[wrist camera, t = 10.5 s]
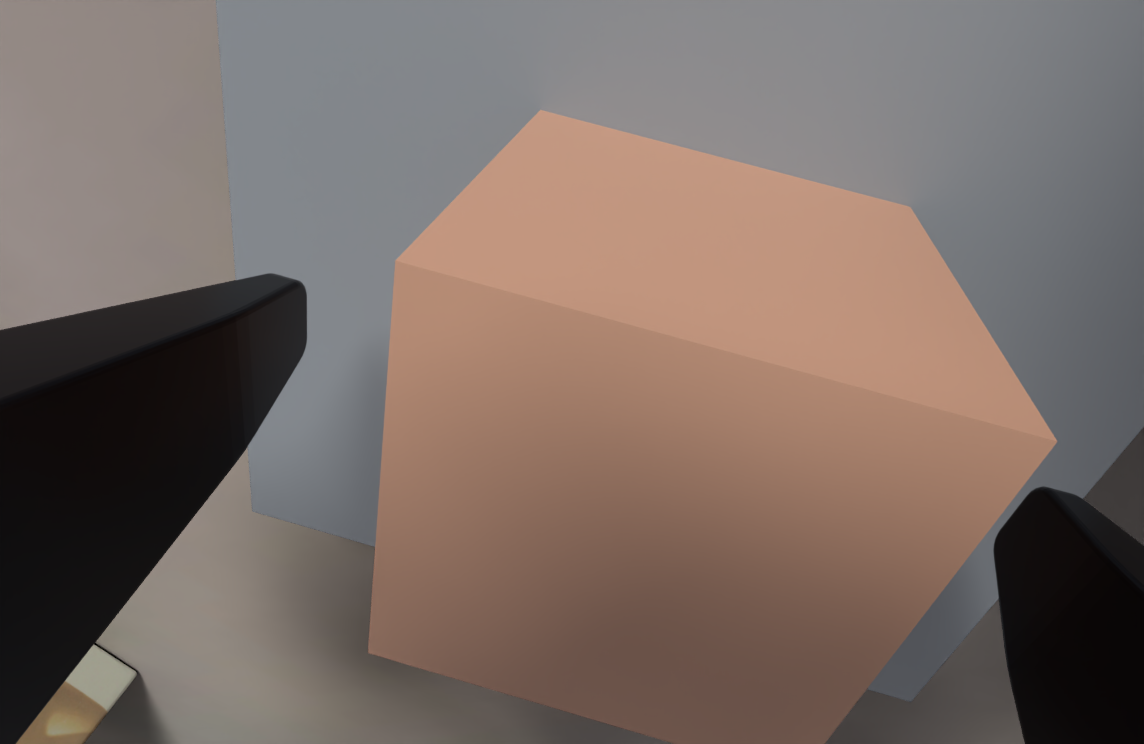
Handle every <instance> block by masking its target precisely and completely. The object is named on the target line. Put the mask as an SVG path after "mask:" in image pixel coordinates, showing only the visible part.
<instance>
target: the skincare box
mask: <svg viewBox="0 0 1144 744" xmlns="http://www.w3.org/2000/svg"><path fill="white" fill-rule="evenodd" d="M136 675H137V673H136V671H134V670H133V669H131V668H130V667H128V666H127V665H125V664H124V663H122V662H120V661H119V660H117V659H116V658H114V657H113V656H111V655H110V654H108V653H107V652H105V651H104V650H102V649H100V648H99V647H97V646H96V645H93V646H92V647H91V649H90V650H89V651H88V652H87V654H86V655H85V656H84V657H83V659H82V660H81V661H80V663H79V664H78V665H77V666H76V668H75V669H74V670H73V672H72V673H71V674H70V675H69V677H68V678H67V679H66V680H65V682H64V683H63V684H62V686H61V687H60V688H59V689H58V691H57V692H56V693H55V695H54V696H53V697H52V698H51V700H50V701H49V702H48V703H47V705H46V706H45V707H44V709H43V710H42V711H41V712H40V714H39V715H38V716H37V718H36V719H35V720H34V721H33V723H32V724H31V725H30V726H29V728H28V729H27V730H26V732H25V733H24V734H23V735H22V737H21V738H20V739H19V740H18V742H17V743H16V744H84V743H85V741H86V740H87V739H88V738H89V736H90V735H91V734H92V733H93V731H94V730H95V729H96V728H97V726H98V725H99V724H100V722H101V721H102V720H103V718H104V717H105V716H106V714H107V713H108V712H109V710H110V709H111V708H112V707H113V705H114V704H115V703H116V701H117V700H118V699H119V698H120V696H121V695H122V694H123V693H124V691H125V690H126V689H127V687H128V686H129V685H130V684H131V682H132V681H133V680H134V678H135V677H136Z"/></svg>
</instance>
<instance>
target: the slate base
mask: <svg viewBox="0 0 1144 744" xmlns="http://www.w3.org/2000/svg"><path fill="white" fill-rule="evenodd" d="M216 10H217V24H218V38H219V52H220V66H221V80H222V94H223V108H224V122H225V136H226V150H227V164H228V178H229V192H230V206H231V220H232V234H233V248H234V262H235V276H236V280H239V279H244V278H248V277H253V276H258V275H262V274H267V273H273V274H278V275H281V276H285V277H289V278H292V279H296V280H299V281H301V282H302V283H303V285H304V286H305V288H306V292H307V344H306V348H305V352H304V354H303V356H302V358H301V360H300V362H299V363H298V365H297V367H296V368H295V370H294V372H293V373H292V375H291V377H290V378H289V380H288V382H287V383H286V385H285V387H284V388H283V390H282V391H281V393H280V395H279V396H278V398H277V400H276V401H275V403H274V405H273V406H272V408H271V410H270V411H269V413H268V415H267V416H266V418H265V420H264V421H263V423H262V425H261V426H260V428H259V429H258V431H257V433H256V434H255V436H254V438H253V439H252V441H251V442H250V444H249V445H248V459H249V473H250V487H251V501H252V511H253V512H256V513H260V514H263V515H267V516H270V517H274V518H277V519H280V520H284V521H287V522H291V523H294V524H298V525H301V526H305V527H308V528H312V529H315V530H318V531H322V532H325V533H329V534H332V535H336V536H339V537H343V538H346V539H350V540H353V541H356V542H360V543H363V544H367V545H370V546H374V547H375V543H376V529H377V515H378V500H379V486H380V472H381V457H382V443H383V429H384V415H385V400H386V386H387V372H388V357H389V343H390V329H391V314H392V300H393V286H394V271H395V260H396V259H397V258H398V257H399V256H400V255H401V254H402V253H403V252H404V251H405V250H406V249H407V248H408V247H409V246H410V245H411V244H412V243H413V242H414V241H415V240H416V239H417V238H418V237H419V235H420V234H421V233H422V232H423V231H424V230H425V229H426V228H427V227H428V226H429V225H430V224H431V223H432V222H433V221H434V220H435V219H436V218H437V217H438V216H439V215H440V214H441V213H442V212H443V211H444V209H445V208H446V207H447V206H448V205H449V204H450V203H451V202H452V201H453V200H454V199H455V198H456V197H457V196H458V195H459V194H460V193H461V192H462V191H463V190H464V189H465V188H466V187H467V186H468V185H469V184H470V182H471V181H472V180H473V179H474V178H475V177H476V176H477V175H478V174H479V173H480V172H481V171H482V170H483V169H484V168H485V167H486V166H487V165H488V164H489V163H490V162H491V161H492V160H493V159H494V158H495V156H496V155H497V154H498V153H499V152H500V151H501V150H502V149H503V148H504V147H505V146H506V145H507V144H508V143H509V142H510V141H511V140H512V139H513V138H514V137H515V136H516V135H517V134H518V133H519V132H520V130H521V129H522V128H523V127H524V126H525V125H526V124H527V123H528V122H529V121H530V120H531V119H532V118H533V117H534V116H535V115H536V114H537V113H538V112H539V111H540V110H543V111H547V112H550V113H554V114H558V115H562V116H566V117H570V118H573V119H577V120H581V121H585V122H589V123H592V124H596V125H600V126H604V127H608V128H611V129H615V130H619V131H623V132H627V133H631V134H634V135H638V136H642V137H646V138H650V139H653V140H657V141H661V142H665V143H669V144H672V145H676V146H680V147H684V148H688V149H692V150H695V151H699V152H703V153H707V154H711V155H714V156H718V157H722V158H726V159H730V160H734V161H737V162H741V163H745V164H749V165H753V166H756V167H760V168H764V169H768V170H772V171H775V172H779V173H783V174H787V175H791V176H795V177H798V178H802V179H806V180H810V181H814V182H817V183H821V184H825V185H829V186H833V187H836V188H840V189H844V190H848V191H852V192H856V193H859V194H863V195H867V196H871V197H875V198H878V199H882V200H886V201H890V202H894V203H897V204H901V205H905V206H909V207H911V209H912V210H913V212H914V214H915V215H916V217H917V218H918V220H919V222H920V223H921V225H922V226H923V228H924V230H925V231H926V233H927V234H928V236H929V237H930V239H931V241H932V242H933V244H934V245H935V247H936V249H937V250H938V252H939V253H940V255H941V257H942V258H943V260H944V261H945V263H946V265H947V266H948V268H949V269H950V271H951V273H952V274H953V276H954V277H955V279H956V281H957V282H958V284H959V285H960V287H961V289H962V290H963V292H964V293H965V295H966V296H967V298H968V300H969V301H970V303H971V304H972V306H973V308H974V309H975V311H976V312H977V314H978V316H979V317H980V319H981V320H982V322H983V324H984V325H985V327H986V328H987V330H988V332H989V333H990V335H991V336H992V338H993V340H994V341H995V343H996V344H997V346H998V347H999V349H1000V351H1001V352H1002V354H1003V355H1004V357H1005V359H1006V360H1007V362H1008V363H1009V365H1010V367H1011V368H1012V370H1013V371H1014V373H1015V375H1016V376H1017V378H1018V379H1019V381H1020V383H1021V384H1022V386H1023V387H1024V389H1025V391H1026V392H1027V394H1028V395H1029V397H1030V398H1031V400H1032V402H1033V403H1034V405H1035V406H1036V408H1037V410H1038V411H1039V413H1040V414H1041V416H1042V418H1043V419H1044V421H1045V422H1046V424H1047V426H1048V427H1049V429H1050V430H1051V432H1052V434H1053V435H1054V437H1055V438H1056V440H1057V443H1056V444H1055V445H1054V447H1053V448H1052V449H1051V451H1050V452H1049V453H1048V455H1047V456H1046V457H1045V458H1044V460H1043V461H1042V462H1041V464H1040V465H1039V466H1038V468H1037V469H1036V470H1035V471H1034V473H1033V474H1032V475H1031V477H1030V478H1029V479H1028V481H1027V482H1026V483H1025V484H1024V486H1023V487H1022V488H1021V490H1020V491H1019V492H1018V493H1017V495H1016V496H1015V497H1014V499H1013V500H1012V501H1011V503H1010V504H1009V505H1008V506H1007V508H1006V509H1005V510H1004V512H1003V513H1002V514H1001V516H1000V517H999V518H998V519H997V521H996V522H995V523H994V525H993V526H992V527H991V529H990V530H989V531H988V532H987V534H986V535H985V536H984V538H983V539H982V540H981V542H980V543H979V544H978V545H977V547H976V548H975V549H974V551H973V552H972V553H971V554H970V556H969V557H968V558H967V560H966V561H965V562H964V564H963V565H962V566H961V567H960V569H959V570H958V571H957V573H956V574H955V575H954V577H953V578H952V579H951V580H950V582H949V583H948V584H947V586H946V587H945V588H944V590H943V591H942V592H941V593H940V595H939V596H938V597H937V599H936V600H935V601H934V603H933V604H932V605H931V606H930V608H929V609H928V610H927V612H926V613H925V614H924V615H923V617H922V618H921V619H920V621H919V622H918V623H917V625H916V626H915V627H914V628H913V630H912V631H911V632H910V634H909V635H908V636H907V638H906V639H905V640H904V641H903V643H902V644H901V645H900V647H899V648H898V649H897V651H896V652H895V653H894V654H893V656H892V657H891V658H890V660H889V661H888V662H887V664H886V665H885V666H884V667H883V669H882V670H881V671H880V673H879V674H878V675H877V676H876V678H875V679H874V680H873V682H872V683H871V684H870V686H869V687H868V688H867V689H868V690H871V691H875V692H878V693H881V694H885V695H888V696H892V697H895V698H899V699H902V700H906V701H909V702H911V701H912V700H913V699H914V698H915V697H916V695H917V694H918V693H919V692H920V691H921V690H922V688H923V687H924V686H925V685H926V684H927V682H928V681H929V680H930V679H931V678H932V677H933V675H934V674H935V673H936V672H937V671H938V669H939V668H940V667H941V666H942V665H943V664H944V662H945V661H946V660H947V659H948V658H949V656H950V655H951V654H952V653H953V652H954V651H955V649H956V648H957V647H958V646H959V645H960V643H961V642H962V641H963V640H964V639H965V638H966V636H967V635H968V634H969V633H970V632H971V630H972V629H973V628H974V627H975V626H976V625H977V623H978V622H979V621H980V620H981V619H982V617H983V616H984V615H985V614H986V613H987V612H988V610H989V609H990V608H991V607H992V606H993V604H994V603H995V602H996V601H997V600H998V599H999V596H998V588H997V579H996V571H995V563H994V554H993V548H994V542H995V538H996V536H997V534H998V532H999V530H1000V529H1001V528H1002V527H1003V525H1004V524H1005V523H1006V521H1007V520H1008V519H1009V518H1010V516H1011V515H1012V514H1013V512H1014V511H1015V510H1016V509H1017V507H1018V506H1019V505H1020V504H1021V502H1022V501H1023V500H1024V498H1025V497H1026V496H1027V495H1028V494H1029V493H1030V491H1032V490H1033V489H1035V488H1037V487H1042V486H1045V487H1050V488H1053V489H1057V490H1061V491H1064V492H1068V493H1072V494H1074V495H1077V496H1079V497H1080V498H1082V499H1083V498H1084V497H1085V496H1086V495H1087V493H1088V492H1089V491H1090V490H1091V489H1092V487H1093V486H1094V485H1095V484H1096V483H1097V482H1098V480H1099V479H1100V478H1101V477H1102V476H1103V474H1104V473H1105V472H1106V471H1107V470H1108V469H1109V467H1110V466H1111V465H1112V464H1113V463H1114V461H1115V460H1116V459H1117V458H1118V457H1119V456H1120V454H1121V453H1122V452H1123V451H1124V450H1125V448H1126V447H1127V446H1128V445H1129V444H1130V443H1131V441H1132V440H1133V439H1134V438H1135V437H1136V436H1137V434H1138V433H1139V432H1140V431H1141V430H1142V428H1143V427H1144V0H216Z"/></svg>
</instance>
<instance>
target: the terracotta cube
mask: <svg viewBox="0 0 1144 744" xmlns="http://www.w3.org/2000/svg"><path fill="white" fill-rule="evenodd" d="M1056 443H1057V440H1056V438H1055V437H1054V435H1053V434H1052V432H1051V430H1050V429H1049V427H1048V426H1047V424H1046V422H1045V421H1044V419H1043V418H1042V416H1041V414H1040V413H1039V411H1038V410H1037V408H1036V406H1035V405H1034V403H1033V402H1032V400H1031V398H1030V397H1029V395H1028V394H1027V392H1026V391H1025V389H1024V387H1023V386H1022V384H1021V383H1020V381H1019V379H1018V378H1017V376H1016V375H1015V373H1014V371H1013V370H1012V368H1011V367H1010V365H1009V363H1008V362H1007V360H1006V359H1005V357H1004V355H1003V354H1002V352H1001V351H1000V349H999V347H998V346H997V344H996V343H995V341H994V340H993V338H992V336H991V335H990V333H989V332H988V330H987V328H986V327H985V325H984V324H983V322H982V320H981V319H980V317H979V316H978V314H977V312H976V311H975V309H974V308H973V306H972V304H971V303H970V301H969V300H968V298H967V296H966V295H965V293H964V292H963V290H962V289H961V287H960V285H959V284H958V282H957V281H956V279H955V277H954V276H953V274H952V273H951V271H950V269H949V268H948V266H947V265H946V263H945V261H944V260H943V258H942V257H941V255H940V253H939V252H938V250H937V249H936V247H935V245H934V244H933V242H932V241H931V239H930V237H929V236H928V234H927V233H926V231H925V230H924V228H923V226H922V225H921V223H920V222H919V220H918V218H917V217H916V215H915V214H914V212H913V210H912V209H911V207H909V206H905V205H901V204H897V203H894V202H890V201H886V200H882V199H878V198H875V197H871V196H867V195H863V194H859V193H856V192H852V191H848V190H844V189H840V188H836V187H833V186H829V185H825V184H821V183H817V182H814V181H810V180H806V179H802V178H798V177H795V176H791V175H787V174H783V173H779V172H775V171H772V170H768V169H764V168H760V167H756V166H753V165H749V164H745V163H741V162H737V161H734V160H730V159H726V158H722V157H718V156H714V155H711V154H707V153H703V152H699V151H695V150H692V149H688V148H684V147H680V146H676V145H672V144H669V143H665V142H661V141H657V140H653V139H650V138H646V137H642V136H638V135H634V134H631V133H627V132H623V131H619V130H615V129H611V128H608V127H604V126H600V125H596V124H592V123H589V122H585V121H581V120H577V119H573V118H570V117H566V116H562V115H558V114H554V113H550V112H547V111H543V110H540V111H539V112H538V113H537V114H536V115H535V116H534V117H533V118H532V119H531V120H530V121H529V122H528V123H527V124H526V125H525V126H524V127H523V128H522V129H521V130H520V132H519V133H518V134H517V135H516V136H515V137H514V138H513V139H512V140H511V141H510V142H509V143H508V144H507V145H506V146H505V147H504V148H503V149H502V150H501V151H500V152H499V153H498V154H497V155H496V156H495V158H494V159H493V160H492V161H491V162H490V163H489V164H488V165H487V166H486V167H485V168H484V169H483V170H482V171H481V172H480V173H479V174H478V175H477V176H476V177H475V178H474V179H473V180H472V181H471V182H470V184H469V185H468V186H467V187H466V188H465V189H464V190H463V191H462V192H461V193H460V194H459V195H458V196H457V197H456V198H455V199H454V200H453V201H452V202H451V203H450V204H449V205H448V206H447V207H446V208H445V209H444V211H443V212H442V213H441V214H440V215H439V216H438V217H437V218H436V219H435V220H434V221H433V222H432V223H431V224H430V225H429V226H428V227H427V228H426V229H425V230H424V231H423V232H422V233H421V234H420V235H419V237H418V238H417V239H416V240H415V241H414V242H413V243H412V244H411V245H410V246H409V247H408V248H407V249H406V250H405V251H404V252H403V253H402V254H401V255H400V256H399V257H398V258H397V259H396V260H395V271H394V286H393V300H392V314H391V329H390V343H389V357H388V372H387V386H386V400H385V415H384V429H383V443H382V457H381V472H380V486H379V500H378V515H377V529H376V543H375V558H374V572H373V586H372V601H371V615H370V629H369V644H368V653H369V654H373V655H376V656H380V657H383V658H386V659H390V660H393V661H396V662H400V663H403V664H407V665H410V666H413V667H417V668H420V669H423V670H427V671H430V672H434V673H437V674H440V675H444V676H447V677H450V678H454V679H457V680H461V681H464V682H467V683H471V684H474V685H477V686H481V687H484V688H488V689H491V690H494V691H498V692H501V693H505V694H508V695H511V696H515V697H518V698H521V699H525V700H528V701H532V702H535V703H538V704H542V705H545V706H548V707H552V708H555V709H559V710H562V711H565V712H569V713H572V714H575V715H579V716H582V717H586V718H589V719H592V720H596V721H599V722H602V723H606V724H609V725H613V726H616V727H619V728H623V729H626V730H629V731H633V732H636V733H640V734H643V735H646V736H650V737H653V738H656V739H660V740H663V741H667V742H670V743H673V744H825V743H826V741H827V740H828V739H829V737H830V736H831V735H832V734H833V732H834V731H835V730H836V728H837V727H838V726H839V724H840V723H841V722H842V721H843V719H844V718H845V717H846V715H847V714H848V713H849V712H850V710H851V709H852V708H853V706H854V705H855V704H856V702H857V701H858V700H859V699H860V697H861V696H862V695H863V693H864V692H865V691H866V689H867V688H868V687H869V686H870V684H871V683H872V682H873V680H874V679H875V678H876V676H877V675H878V674H879V673H880V671H881V670H882V669H883V667H884V666H885V665H886V664H887V662H888V661H889V660H890V658H891V657H892V656H893V654H894V653H895V652H896V651H897V649H898V648H899V647H900V645H901V644H902V643H903V641H904V640H905V639H906V638H907V636H908V635H909V634H910V632H911V631H912V630H913V628H914V627H915V626H916V625H917V623H918V622H919V621H920V619H921V618H922V617H923V615H924V614H925V613H926V612H927V610H928V609H929V608H930V606H931V605H932V604H933V603H934V601H935V600H936V599H937V597H938V596H939V595H940V593H941V592H942V591H943V590H944V588H945V587H946V586H947V584H948V583H949V582H950V580H951V579H952V578H953V577H954V575H955V574H956V573H957V571H958V570H959V569H960V567H961V566H962V565H963V564H964V562H965V561H966V560H967V558H968V557H969V556H970V554H971V553H972V552H973V551H974V549H975V548H976V547H977V545H978V544H979V543H980V542H981V540H982V539H983V538H984V536H985V535H986V534H987V532H988V531H989V530H990V529H991V527H992V526H993V525H994V523H995V522H996V521H997V519H998V518H999V517H1000V516H1001V514H1002V513H1003V512H1004V510H1005V509H1006V508H1007V506H1008V505H1009V504H1010V503H1011V501H1012V500H1013V499H1014V497H1015V496H1016V495H1017V493H1018V492H1019V491H1020V490H1021V488H1022V487H1023V486H1024V484H1025V483H1026V482H1027V481H1028V479H1029V478H1030V477H1031V475H1032V474H1033V473H1034V471H1035V470H1036V469H1037V468H1038V466H1039V465H1040V464H1041V462H1042V461H1043V460H1044V458H1045V457H1046V456H1047V455H1048V453H1049V452H1050V451H1051V449H1052V448H1053V447H1054V445H1055V444H1056Z"/></svg>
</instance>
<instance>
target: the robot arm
mask: <svg viewBox="0 0 1144 744" xmlns="http://www.w3.org/2000/svg"><path fill="white" fill-rule="evenodd" d="M306 344H307V292H306V288H305V286H304V285H303V283H302V282H301V281H299V280H296V279H292V278H289V277H285V276H281V275H278V274H273V273H267V274H262V275H258V276H253V277H248V278H244V279H239V280H234V281H229V282H225V283H220V284H215V285H211V286H206V287H201V288H196V289H192V290H187V291H182V292H178V293H173V294H168V295H163V296H159V297H154V298H149V299H145V300H140V301H135V302H130V303H126V304H121V305H116V306H111V307H107V308H102V309H97V310H93V311H88V312H83V313H78V314H74V315H69V316H64V317H60V318H55V319H50V320H45V321H41V322H36V323H31V324H27V325H22V326H17V327H12V328H8V329H3V330H0V744H16V743H17V742H18V740H19V739H20V738H21V737H22V735H23V734H24V733H25V732H26V730H27V729H28V728H29V726H30V725H31V724H32V723H33V721H34V720H35V719H36V718H37V716H38V715H39V714H40V712H41V711H42V710H43V709H44V707H45V706H46V705H47V703H48V702H49V701H50V700H51V698H52V697H53V696H54V695H55V693H56V692H57V691H58V689H59V688H60V687H61V686H62V684H63V683H64V682H65V680H66V679H67V678H68V677H69V675H70V674H71V673H72V672H73V670H74V669H75V668H76V666H77V665H78V664H79V663H80V661H81V660H82V659H83V657H84V656H85V655H86V654H87V652H88V651H89V650H90V649H91V647H92V646H93V645H94V643H95V642H96V641H97V640H98V638H99V637H100V636H101V635H102V633H103V632H104V631H105V629H106V628H107V627H108V626H109V624H110V623H111V622H112V620H113V619H114V618H115V617H116V615H117V614H118V613H119V612H120V610H121V609H122V608H123V606H124V605H125V604H126V603H127V601H128V600H129V599H130V597H131V596H132V595H133V594H134V592H135V591H136V590H137V589H138V587H139V586H140V585H141V583H142V582H143V581H144V580H145V578H146V577H147V576H148V574H149V573H150V572H151V571H152V569H153V568H154V567H155V566H156V564H157V563H158V562H159V560H160V559H161V558H162V557H163V555H164V554H165V553H166V551H167V550H168V549H169V548H170V546H171V545H172V544H173V543H174V541H175V540H176V539H177V537H178V536H179V535H180V534H181V532H182V531H183V530H184V529H185V527H186V526H187V525H188V523H189V522H190V521H191V520H192V518H193V517H194V516H195V514H196V513H197V512H198V511H199V509H200V508H201V507H202V506H203V504H204V503H205V502H206V500H207V499H208V498H209V497H210V495H211V494H212V493H213V491H214V490H215V489H216V488H217V486H218V485H219V484H220V483H221V481H222V480H223V479H224V477H225V476H226V475H227V474H228V472H229V471H230V470H231V468H232V467H233V466H234V465H235V463H236V462H237V461H238V459H239V458H240V457H241V455H242V454H243V453H244V451H245V450H246V448H247V447H248V445H249V444H250V442H251V441H252V439H253V438H254V436H255V434H256V433H257V431H258V429H259V428H260V426H261V425H262V423H263V421H264V420H265V418H266V416H267V415H268V413H269V411H270V410H271V408H272V406H273V405H274V403H275V401H276V400H277V398H278V396H279V395H280V393H281V391H282V390H283V388H284V387H285V385H286V383H287V382H288V380H289V378H290V377H291V375H292V373H293V372H294V370H295V368H296V367H297V365H298V363H299V362H300V360H301V358H302V356H303V354H304V352H305V348H306ZM993 554H994V563H995V571H996V579H997V588H998V596H999V605H1000V613H1001V621H1002V630H1003V638H1004V647H1005V654H1006V660H1007V667H1008V672H1009V677H1010V682H1011V687H1012V691H1013V695H1014V700H1015V704H1016V708H1017V712H1018V717H1019V721H1020V725H1021V729H1022V734H1023V738H1024V742H1025V744H1144V546H1143V545H1142V544H1141V543H1139V542H1138V541H1137V540H1135V539H1134V538H1133V537H1132V536H1130V535H1129V534H1128V533H1126V532H1125V531H1124V530H1122V529H1121V528H1120V527H1119V526H1117V525H1116V524H1115V523H1113V522H1112V521H1111V520H1109V519H1108V518H1107V517H1105V516H1104V515H1103V514H1102V513H1100V512H1099V511H1098V510H1096V509H1095V508H1094V507H1092V506H1091V505H1090V504H1089V503H1087V502H1086V501H1085V500H1083V499H1082V498H1080V497H1079V496H1077V495H1074V494H1072V493H1068V492H1064V491H1061V490H1057V489H1053V488H1050V487H1045V486H1042V487H1037V488H1035V489H1033V490H1032V491H1030V493H1029V494H1028V495H1027V496H1026V497H1025V498H1024V500H1023V501H1022V502H1021V504H1020V505H1019V506H1018V507H1017V509H1016V510H1015V511H1014V512H1013V514H1012V515H1011V516H1010V518H1009V519H1008V520H1007V521H1006V523H1005V524H1004V525H1003V527H1002V528H1001V529H1000V530H999V532H998V534H997V536H996V538H995V542H994V548H993Z"/></svg>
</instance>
